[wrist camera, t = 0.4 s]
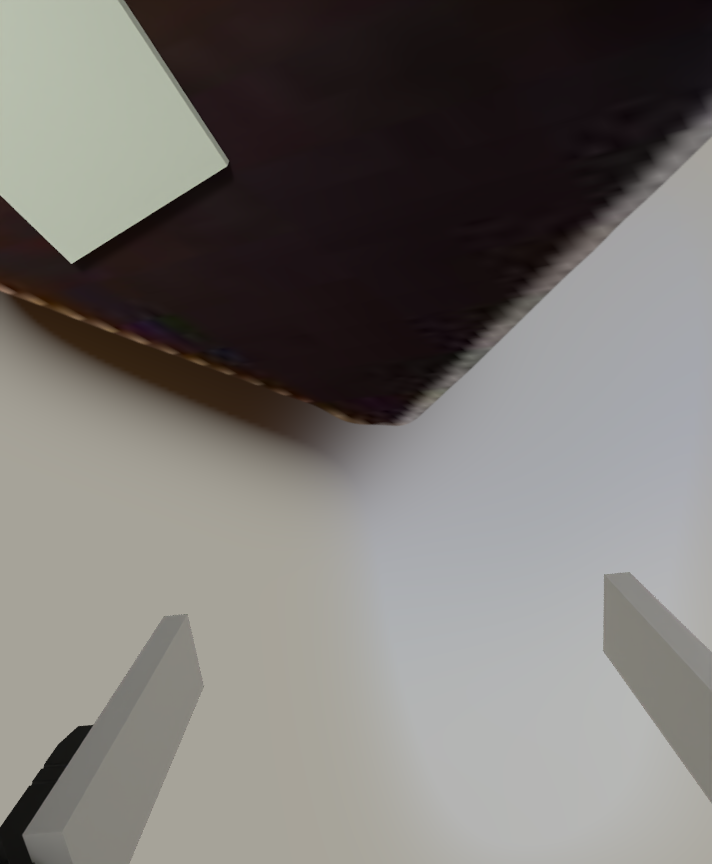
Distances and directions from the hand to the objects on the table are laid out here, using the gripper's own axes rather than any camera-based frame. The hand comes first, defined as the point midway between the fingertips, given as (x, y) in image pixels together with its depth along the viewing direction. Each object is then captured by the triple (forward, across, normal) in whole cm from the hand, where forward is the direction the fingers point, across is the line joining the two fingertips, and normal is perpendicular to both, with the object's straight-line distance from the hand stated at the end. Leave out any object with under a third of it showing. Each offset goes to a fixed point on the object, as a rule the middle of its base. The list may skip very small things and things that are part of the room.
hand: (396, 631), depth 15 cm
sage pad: (+24, -19, +26) cm, 40 cm away
